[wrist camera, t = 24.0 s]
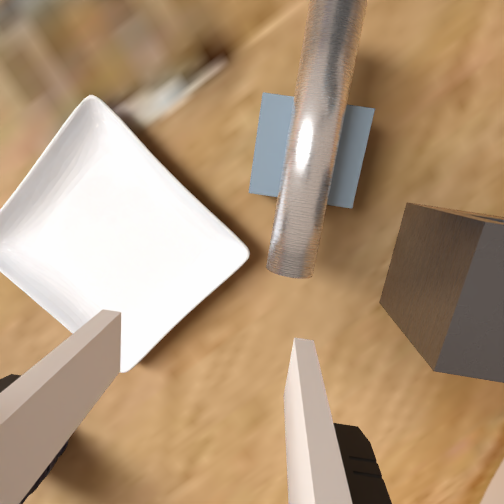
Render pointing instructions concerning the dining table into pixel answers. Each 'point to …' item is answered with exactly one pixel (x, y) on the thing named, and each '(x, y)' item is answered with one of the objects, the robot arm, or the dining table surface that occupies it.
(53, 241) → the salad plate
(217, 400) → the dining table surface
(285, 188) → the axle
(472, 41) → the dining table surface
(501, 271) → the slotted grey block
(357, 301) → the dining table surface
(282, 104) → the v block
